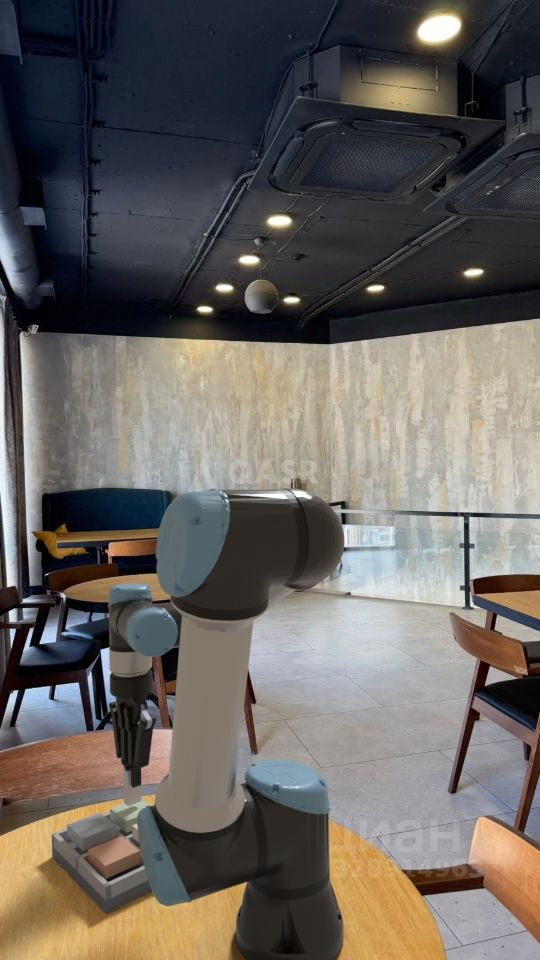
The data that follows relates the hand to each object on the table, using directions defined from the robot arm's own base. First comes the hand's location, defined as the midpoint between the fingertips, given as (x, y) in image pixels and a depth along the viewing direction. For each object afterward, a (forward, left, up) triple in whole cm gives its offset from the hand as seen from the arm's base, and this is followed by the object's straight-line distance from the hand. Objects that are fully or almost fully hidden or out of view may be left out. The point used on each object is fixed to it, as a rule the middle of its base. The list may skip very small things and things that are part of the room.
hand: (132, 801), depth 113 cm
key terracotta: (-8, +8, -4) cm, 12 cm away
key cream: (-8, 0, -3) cm, 9 cm away
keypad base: (-4, +4, -7) cm, 9 cm away
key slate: (0, +8, -3) cm, 9 cm away
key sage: (0, 0, -3) cm, 3 cm away
